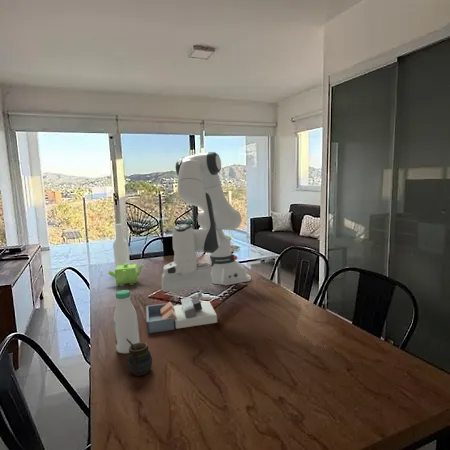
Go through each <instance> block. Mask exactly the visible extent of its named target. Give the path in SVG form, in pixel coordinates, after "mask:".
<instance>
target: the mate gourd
mask: <svg viewBox="0 0 450 450" xmlns="http://www.w3.org/2000/svg"><path fill="white" fill-rule="evenodd" d="M126 340H127V341H128V342H129V343H130V344H131V346H130V347H129V353H128V354H129V355H128V358H127V368H128V370H129V372H130V373H131V374H132V375H134V376H136V377H137V376H138V377H141V376H143V375H146V374H148V372H150V371H151V369H152V365H153V357H152V355H151V352H150V350H149V344H148V343H147V342H143V341H140V342H139V343H135V344H132V343H131V342H130V341H129V340H128V339H126Z"/></svg>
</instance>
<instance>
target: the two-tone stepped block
mask: <svg viewBox="0 0 450 450" xmlns="http://www.w3.org/2000/svg"><path fill="white" fill-rule="evenodd" d="M180 302H181V305H182V306H183V309H184V313H185V316H186V319H187V318H190V317H193V316H196V312H195V311H198V310H201V309H202V306H201V302H202V301H201V300H200V298H198V297H195V298H191V296H187V297H183V298H181V299H180Z"/></svg>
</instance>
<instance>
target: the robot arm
mask: <svg viewBox="0 0 450 450" xmlns="http://www.w3.org/2000/svg"><path fill="white" fill-rule="evenodd" d="M221 169H222V160H221V157H220V155H219V154H218V153H216V152H215V151H208V152H201V153H196V154H193V155H192V154H191V155H188V156H183V157H181V158H179V159H177V161H176V163H175V172H176V174H177V194H178V197H179V198H180V200H182V201H183V202H185V203H187V204H189V205H191V206H195V207H197V208H200V209H201V210H200V211H199V213H198V215H197V217H196V218H197V223H198V225H199V226H200V227H201V228H202V229H194V228H193V226H192V225H191V224H189V223H181V224H177V225H175V226H174V227H173V229H172V250H173V254H174V255H173V261H171V262H169V263H167V264H165V265H164V266H163V268H162V269H163V272H162V274H161V290H162V292H164V293H167V292H170V293H171V295H172V296H173V298H174V302H178V301H179V295H178V294H177V295H176V294H175V293H176V291H183V290H189V289H198V288H199V289H200V290H199V292H197V298H199V299H200V298H203V293H204V291H205V287H211V286H212V285H213V284H215V285H222V286H231V285H236V284H241V283H245V282H250V281H251V280H252V276H250V274H248V273H247V269H246V268H245V266H244V265H242V264H241V263H240V262H238V261H236V260H238V256H237V255H235V254H232V244H231V243H232V241H231V239H230V238H229V237H228V236H227V235H225V233H224V231H225V230H226V231H230V230H237V229H238V228H239V227H240V226H241V224H242V223H241V222H242V215H241V213H240V211H238V210H237V209H236V208H234V207H233V205H231V204H230V203H229V201H228V199H227V197H226V196H225V194H224V191H223V186H222V183H221V180H220V179H221V178H220V176H219V173H220V172H221ZM196 253H197V254H198V253H206V254H210V255H209V263H208V262H205V263H198V262H197V260H198V259H197V255H196Z"/></svg>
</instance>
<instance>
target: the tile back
mask: <svg viewBox="0 0 450 450" xmlns="http://www.w3.org/2000/svg"><path fill="white" fill-rule="evenodd" d="M166 303H167V304H166V305H165V306H164V307H162V308H161V309H160V311H161V314H162V315H165V314H166V313H167V312H168V311H170V310H171V309H172V310H173V311H174V310H175V309H174V306H175V305H174V304H173V303H172V302H171V301H168V302H166Z"/></svg>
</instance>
